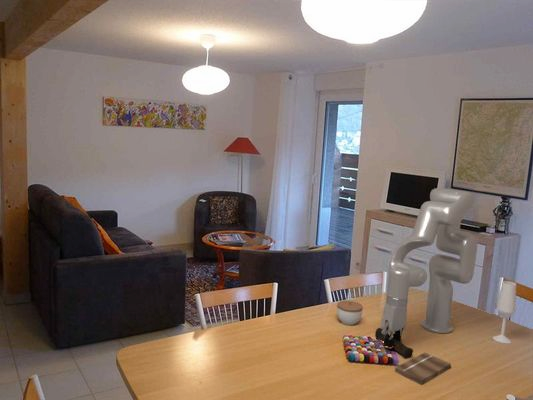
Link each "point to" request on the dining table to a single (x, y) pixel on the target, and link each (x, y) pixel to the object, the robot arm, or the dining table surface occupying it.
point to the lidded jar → (349, 312)
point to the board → (422, 368)
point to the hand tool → (396, 345)
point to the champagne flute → (506, 307)
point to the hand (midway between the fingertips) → (392, 346)
